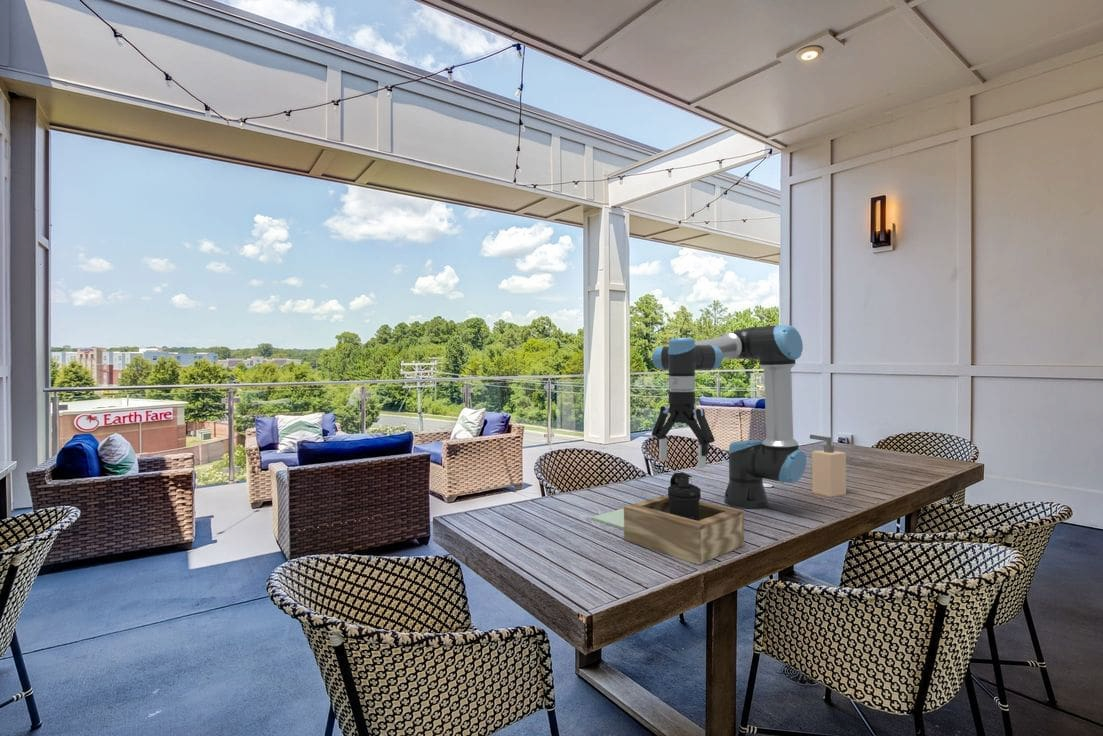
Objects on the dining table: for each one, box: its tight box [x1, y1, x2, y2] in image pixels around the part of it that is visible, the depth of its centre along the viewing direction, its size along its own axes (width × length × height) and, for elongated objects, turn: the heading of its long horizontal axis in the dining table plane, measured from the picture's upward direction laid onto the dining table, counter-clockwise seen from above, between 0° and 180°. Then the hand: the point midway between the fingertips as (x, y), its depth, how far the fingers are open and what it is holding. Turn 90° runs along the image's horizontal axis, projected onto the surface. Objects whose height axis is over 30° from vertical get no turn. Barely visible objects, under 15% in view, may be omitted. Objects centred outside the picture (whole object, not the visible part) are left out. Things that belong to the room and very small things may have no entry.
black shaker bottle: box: [667, 472, 702, 521], centre depth 156 cm, size 9×11×20 cm
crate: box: [623, 493, 745, 565], centre depth 156 cm, size 22×26×10 cm
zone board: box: [591, 507, 624, 531], centre depth 179 cm, size 16×16×1 cm
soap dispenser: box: [809, 434, 847, 498], centre depth 213 cm, size 13×9×22 cm
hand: (681, 463), depth 156 cm, fingers open, 13 cm apart
